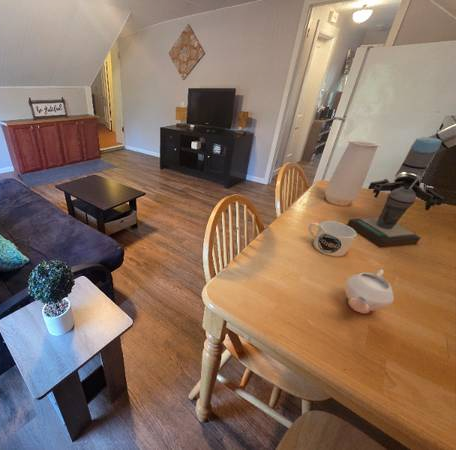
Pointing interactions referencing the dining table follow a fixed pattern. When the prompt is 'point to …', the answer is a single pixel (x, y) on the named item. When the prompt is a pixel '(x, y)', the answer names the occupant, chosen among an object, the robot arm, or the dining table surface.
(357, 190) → the vase
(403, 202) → the beverage cup
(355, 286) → the teapot
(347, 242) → the mug
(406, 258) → the dining table surface
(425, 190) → the robot arm
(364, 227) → the scale
